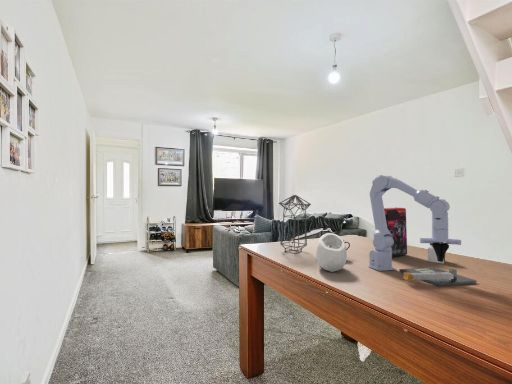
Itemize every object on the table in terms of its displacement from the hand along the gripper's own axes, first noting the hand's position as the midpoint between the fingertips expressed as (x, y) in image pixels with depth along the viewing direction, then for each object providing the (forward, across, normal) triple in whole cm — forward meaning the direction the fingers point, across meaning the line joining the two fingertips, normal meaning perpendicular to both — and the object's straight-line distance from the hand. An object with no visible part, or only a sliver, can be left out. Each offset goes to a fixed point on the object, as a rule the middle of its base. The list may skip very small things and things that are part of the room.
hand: (440, 261), depth 118 cm
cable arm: (+6, +6, +9) cm, 12 cm away
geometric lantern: (+8, +66, -37) cm, 77 cm away
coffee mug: (+8, +41, -28) cm, 50 cm away
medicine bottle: (+8, -8, -34) cm, 36 cm away
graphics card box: (+8, +11, -43) cm, 45 cm away
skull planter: (+8, +44, -4) cm, 45 cm away
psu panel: (+7, +1, -2) cm, 8 cm away
